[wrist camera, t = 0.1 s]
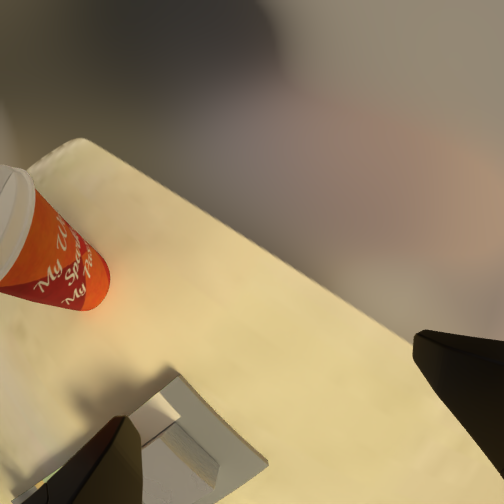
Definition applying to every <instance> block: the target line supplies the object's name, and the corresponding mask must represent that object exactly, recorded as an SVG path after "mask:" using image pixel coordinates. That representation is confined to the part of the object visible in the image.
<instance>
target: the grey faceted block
mask: <svg viewBox="0 0 504 504" xmlns="http://www.w3.org/2000/svg"><path fill="white" fill-rule="evenodd" d="M141 450H142V469H143V495H142V501H143V502H144V503H145V504H192V503H194V502H195V501H197V500H199V499H200V498H202V497H204V496H205V495H207V494H208V493H210V492H212V491H213V490H214V489H215V485H216V480H217V476H218V472H219V468H220V465H219V464H218V463H217V462H216V461H215V460H214V459H213V458H211V457H210V456H209V455H208V454H207V453H206V452H205V451H204V450H203V449H202V448H201V447H200V446H199V445H198V444H197V443H196V442H195V441H194V440H193V439H192V438H191V437H190V436H189V435H188V434H187V433H186V432H185V431H184V430H183V429H182V428H181V427H180V426H179V425H178V424H177V423H176V422H175V423H174V424H173V425H171V426H170V427H169V428H168V429H166V430H165V431H164V432H162V433H161V434H160V435H158V436H157V437H156V438H154V439H153V440H151V441H150V442H149V443H147V444H146V445H145V446H143V447H142V448H141Z"/></svg>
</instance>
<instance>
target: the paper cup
mask: <svg viewBox="0 0 504 504" xmlns="http://www.w3.org/2000/svg"><path fill="white" fill-rule="evenodd" d="M109 285H110V272H109V268H108V266H107V264H106V262H105V261H104V259H103V258H102V257H101V256H100V255H99V254H98V253H97V252H96V251H95V250H94V249H93V248H92V247H91V246H90V245H89V244H88V243H87V242H86V241H85V240H84V239H83V238H82V237H81V236H80V235H79V234H78V233H77V232H76V231H75V230H74V229H73V228H72V227H71V226H70V225H69V224H68V223H67V222H66V221H65V220H64V219H63V218H62V217H61V216H60V215H59V214H58V213H57V212H56V211H55V210H54V209H53V207H52V206H51V205H50V204H49V203H48V202H47V201H46V200H45V199H44V198H43V197H42V196H41V195H40V193H39V192H38V191H37V190H36V189H35V185H34V182H33V179H32V178H31V176H30V174H29V173H28V172H27V171H25V170H23V169H21V168H14V167H11V166H9V165H0V292H1V293H5V294H8V295H12V296H15V297H19V298H22V299H25V300H29V301H32V302H37V303H42V304H47V305H52V306H56V307H61V308H66V309H71V310H78V311H87V310H91V309H93V308H95V307H97V306H98V305H99V304H100V303H101V302H102V301H103V299H104V298H105V296H106V294H107V292H108V289H109Z"/></svg>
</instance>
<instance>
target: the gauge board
mask: <svg viewBox="0 0 504 504" xmlns="http://www.w3.org/2000/svg"><path fill="white" fill-rule="evenodd" d="M128 417H129V418H130V420H131V421H132V423H133V424H134V426H135V428H136V429H137V431H138V432H139V434H140V437H141V448H142V447H143V446H145V445H146V444H147V443H149V442H150V441H151V440H153V439H154V438H156V437H157V436H158V435H160V434H161V433H162V432H164V431H165V430H166V429H168V428H169V427H170V426H171V425H173V424H174V423H175V422H176V423H177V424H178V425H179V426H180V427H181V428H182V429H183V430H184V431H185V432H186V433H187V434H188V435H189V436H190V437H191V438H192V439H193V440H194V441H195V442H196V443H197V444H198V445H199V446H200V447H201V448H202V449H203V450H204V451H205V452H206V453H207V454H208V455H209V456H210V457H211V458H213V459H214V460H215V461H216V462H217V463H218V464H219V465H220V468H219V472H218V476H217V480H216V485H215V489H214V490H213V491H212V492H210V493H208V494H207V495H205V496H204V497H202V498H200V499H199V500H197V501H195V502H194V503H192V504H214V503H216V502H217V501H219V500H220V499H222V498H224V497H225V496H227V495H228V494H230V493H231V492H233V491H234V490H236V489H237V488H239V487H240V486H242V485H243V484H245V483H246V482H247V481H249V480H250V479H252V478H253V477H254V476H256V475H257V474H258V473H260V472H261V471H262V470H264V469H265V468H266V467H268V466H269V464H268V460H267V459H265V458H264V457H263V456H262V455H261V454H260V453H259V452H257V451H256V450H255V449H254V448H253V447H252V446H251V445H250V444H248V443H247V442H246V441H245V440H244V439H243V438H242V437H241V436H240V435H239V434H238V433H237V432H236V431H234V430H233V429H232V428H231V427H230V426H229V425H228V424H227V423H226V422H225V421H224V420H223V419H222V418H221V417H220V416H219V415H218V414H217V413H216V412H215V411H214V410H213V409H212V408H211V407H210V406H209V405H208V404H207V403H206V402H205V400H204V399H203V398H202V397H201V396H200V395H199V394H198V393H197V392H196V391H195V390H194V389H193V388H192V386H191V385H190V384H189V383H188V382H187V381H186V380H185V379H184V378H183V376H182V375H180V376H177V377H176V378H175V379H174V380H173V381H171V382H170V383H169V384H168V385H167V386H165V387H164V388H163V389H162V390H161V391H159V392H158V393H157V394H155V395H154V396H153V397H152V398H151V399H149V400H148V401H147V402H146V403H144V404H143V405H142V406H141V407H139V408H138V409H137V410H136V411H134V412H133V413H132V414H131V415H129V416H128ZM60 468H61V467H60ZM60 468H59V469H60ZM59 469H57V470H56V471H55V472H53V473H52V474H50V475H49V476H47V477H46V478H45V479H43V480H42V481H40V482H39V483H37V484H36V485H35V486H33V487H32V488H30V489H29V490H27V491H26V492H24V493H23V494H21V495H20V496H18V497H17V498H15V499H13V500H12V501H11V502H12V503H13V504H21V503H22V502H23V501H25V500H26V499H27V498H28V497H30V496H31V495H32V494H33V493H34V492H35V491H36V490H38V489H39V488H40V487H41V486H42V485H43V484H44V483H45V482H46V483H47V480H48V479H50V478H51V477H52V476H53V475H54V474H55V473H56V472H57V471H58V470H59ZM142 504H145V503H144V502H143V501H142Z"/></svg>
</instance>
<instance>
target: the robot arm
mask: <svg viewBox="0 0 504 504" xmlns="http://www.w3.org/2000/svg"><path fill="white" fill-rule="evenodd" d="M413 360H414V362H415V363H416V365H417V366H418V368H419V369H420V371H421V372H422V374H423V375H424V377H425V378H426V380H427V381H428V383H429V384H430V386H431V387H432V389H433V390H434V391H435V393H436V394H437V395H438V397H439V398H440V399H441V400H442V401H443V403H444V404H445V405H446V406H447V407H448V409H449V410H450V411H451V412H452V414H453V415H454V416H455V417H456V418H457V420H458V421H459V422H460V423H461V425H462V426H463V427H464V428H465V429H466V431H467V432H468V433H469V434H470V436H471V437H472V438H473V440H474V441H475V442H476V443H477V445H478V446H479V447H480V448H481V450H482V451H483V452H484V454H485V455H486V456H487V457H488V459H489V460H490V461H491V463H492V464H493V465H494V467H495V468H496V469H497V471H498V472H499V473H500V475H501V476H502V478H503V479H504V341H499V340H492V339H484V338H477V337H470V336H464V335H457V334H450V333H444V332H438V331H432V330H422V331H420V332H419V333H416V334H415V336H414V342H413ZM142 495H143V469H142V450H141V437H140V434H139V432H138V431H137V429H136V428H135V426H134V424H133V423H132V421H131V420H130V418H129V417H128V416H125V415H123V416H115V417H113V418H112V419H111V420H110V421H109V422H108V423H107V424H106V425H105V426H104V427H103V428H102V429H101V430H100V431H99V432H98V433H97V434H96V435H95V436H94V437H93V438H92V439H91V440H90V441H89V442H88V443H86V444H85V445H84V446H83V447H82V448H81V449H80V450H79V451H78V452H77V453H76V454H75V455H74V456H73V457H72V458H71V459H70V460H69V461H68V462H67V463H65V464H64V465H63V466H62V467H61V468H60V469H59V470H58V471H57V472H56V473H55V474H54V475H53V476H52V477H51V478H50V479H48V480H47V483H46V482H45V483H44V484H43V485H42V486H41V487H40V488H39V489H38V490H36V491H35V492H34V493H33V494H32V495H31V496H30V497H28V498H27V499H26V500H25V501H23V502H22V503H21V504H142Z"/></svg>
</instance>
